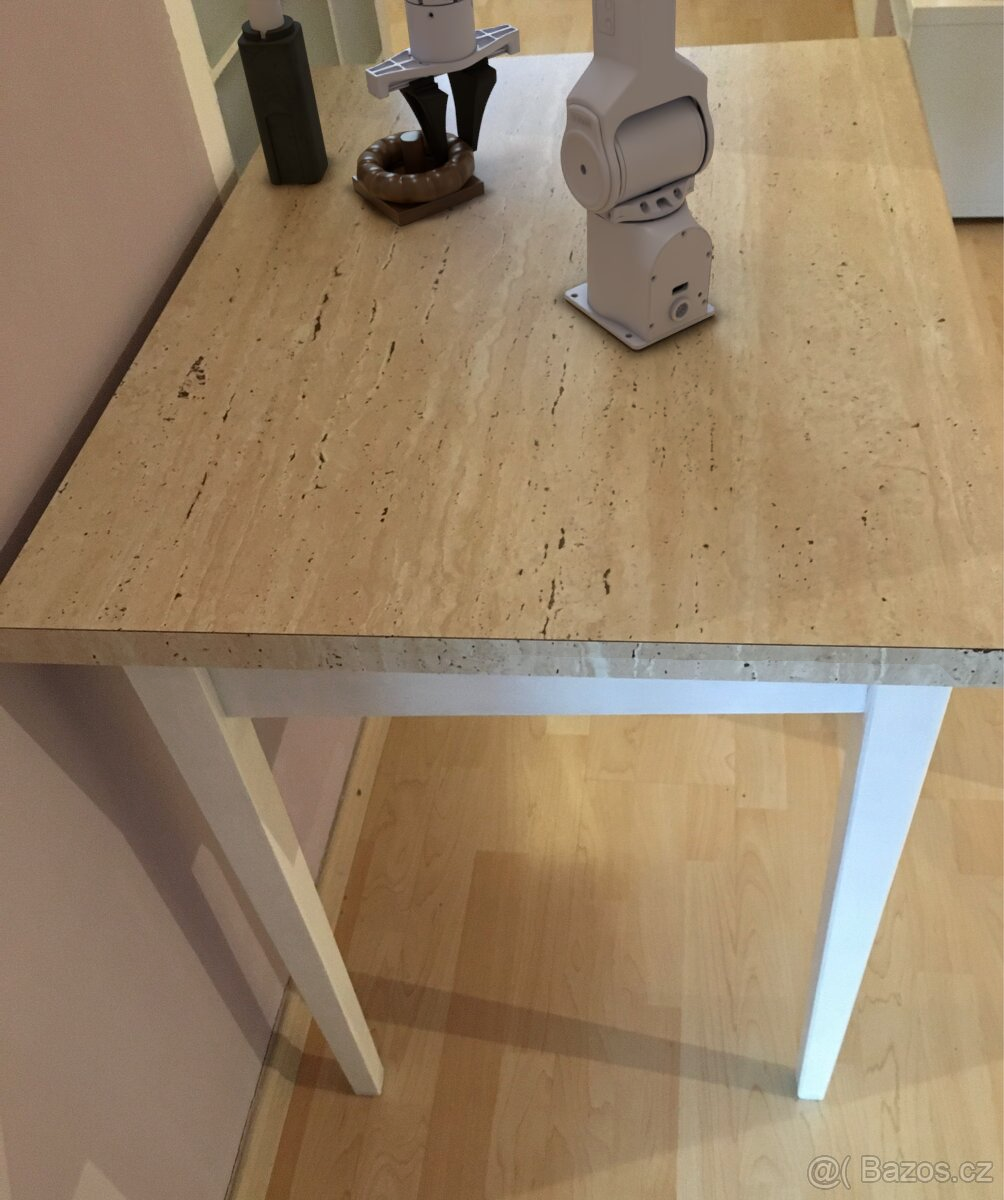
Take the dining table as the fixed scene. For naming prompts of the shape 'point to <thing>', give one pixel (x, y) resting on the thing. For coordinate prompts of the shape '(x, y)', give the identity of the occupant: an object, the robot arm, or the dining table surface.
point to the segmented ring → (413, 185)
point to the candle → (282, 94)
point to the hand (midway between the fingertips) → (454, 153)
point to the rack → (418, 164)
